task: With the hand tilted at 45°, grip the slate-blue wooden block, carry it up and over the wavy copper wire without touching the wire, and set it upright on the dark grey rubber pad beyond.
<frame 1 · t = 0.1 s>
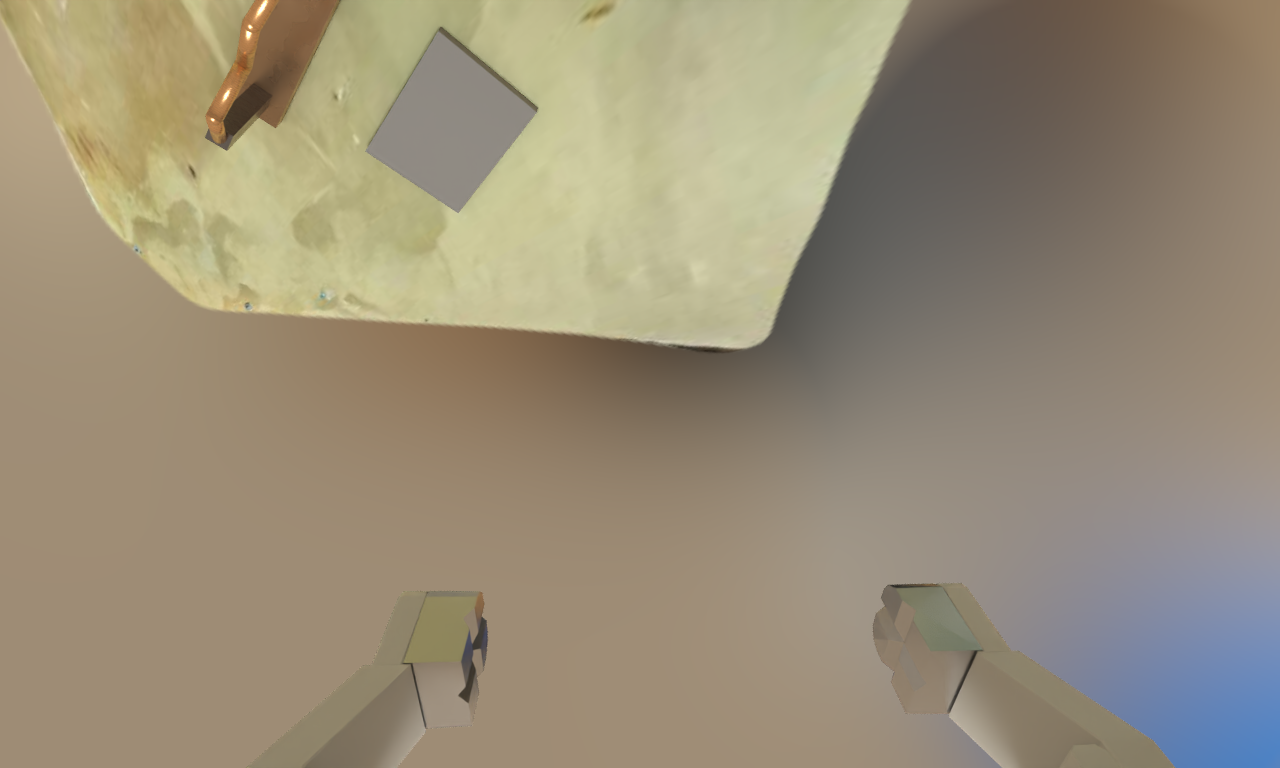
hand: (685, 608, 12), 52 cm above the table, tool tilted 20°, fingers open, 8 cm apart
pad: (451, 127, 56), on the table
wire frame: (300, 15, 49), on the table
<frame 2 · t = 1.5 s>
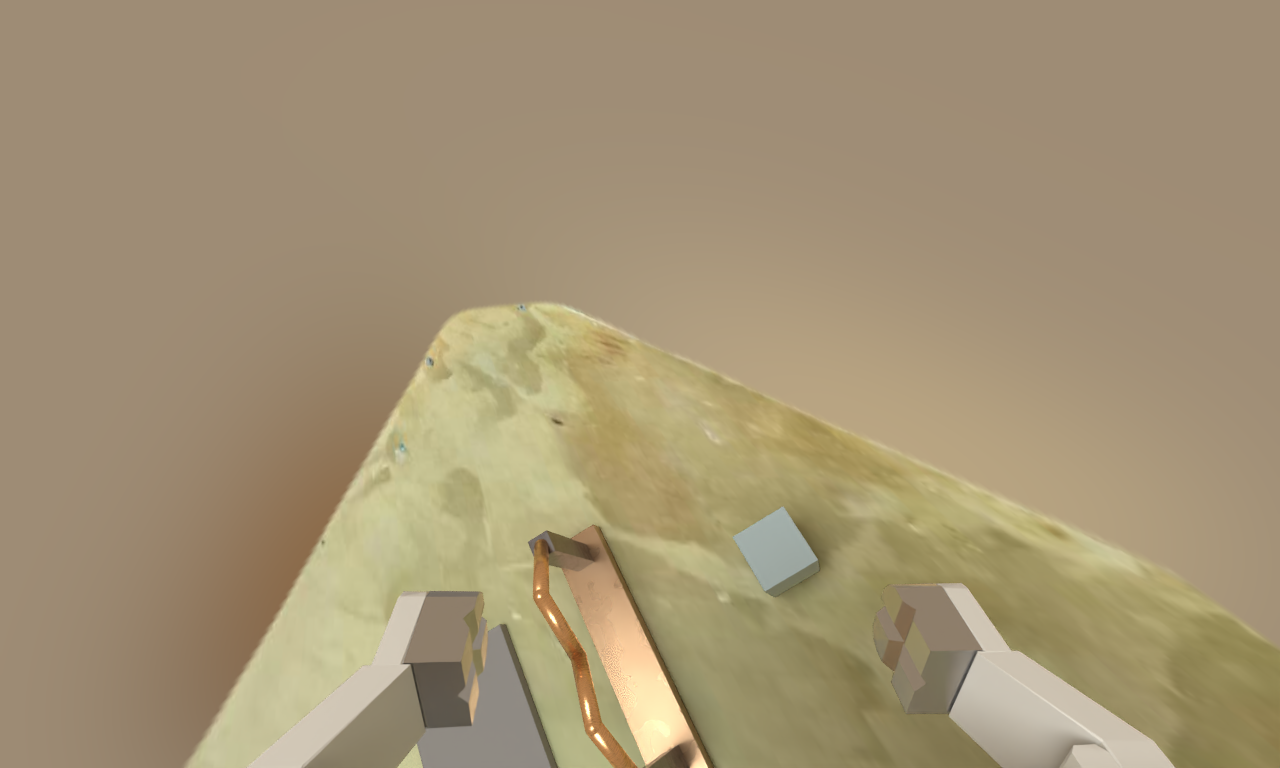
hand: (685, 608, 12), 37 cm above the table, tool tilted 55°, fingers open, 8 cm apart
pad: (483, 738, 48), on the table
block: (782, 560, 46), on the table
wire frame: (630, 651, 47), on the table
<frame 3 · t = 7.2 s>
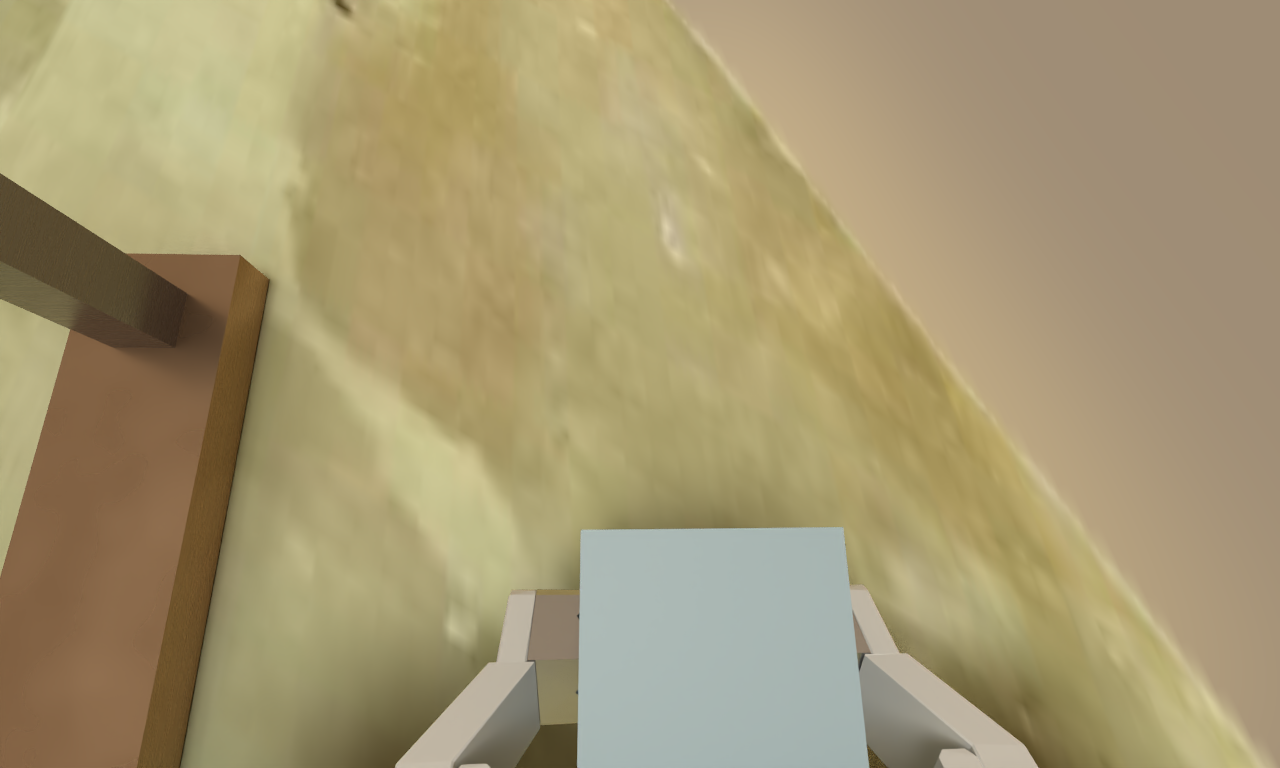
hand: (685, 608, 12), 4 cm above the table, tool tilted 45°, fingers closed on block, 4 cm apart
block: (666, 620, 16), on the table, touching gripper
wire frame: (123, 631, 15), on the table
when the fingers open (7 cm above the table, at t = 14.4 s): block drops 2 cm, resting on pad.
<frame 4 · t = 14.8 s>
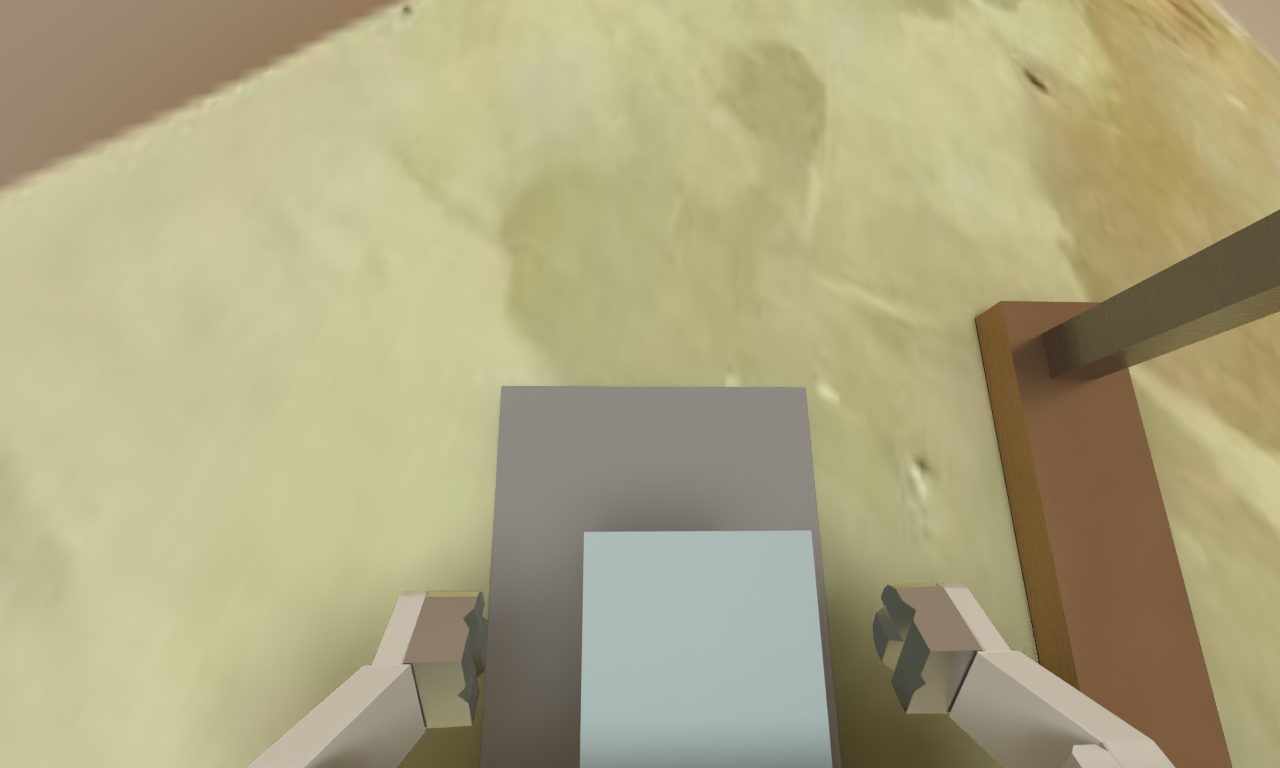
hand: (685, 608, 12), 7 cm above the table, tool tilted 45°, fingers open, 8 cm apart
pad: (657, 612, 18), on the table
block: (660, 614, 17), point 1 cm above the table, touching pad
wire frame: (1088, 605, 19), on the table
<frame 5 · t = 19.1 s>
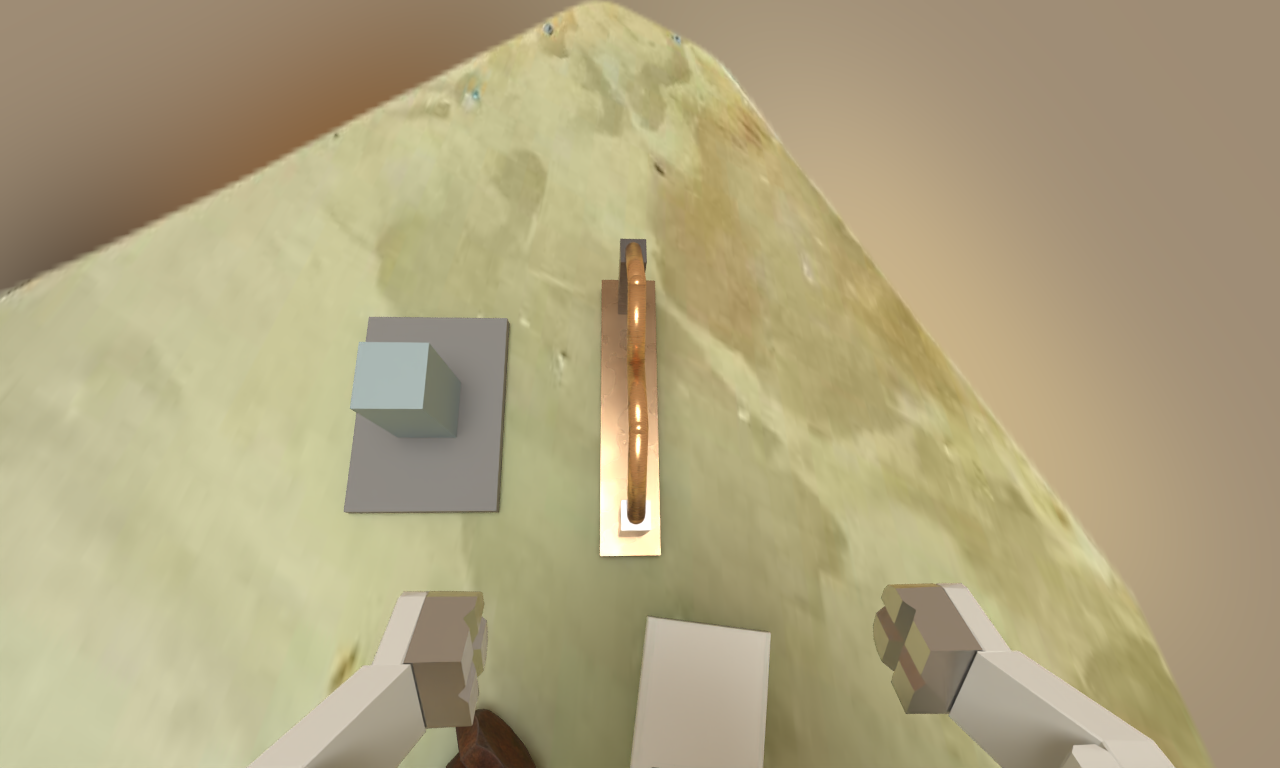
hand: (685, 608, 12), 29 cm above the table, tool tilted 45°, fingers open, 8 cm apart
pad: (433, 413, 43), on the table
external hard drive: (696, 724, 38), on the table
block: (429, 409, 42), point 1 cm above the table, touching pad
wire frame: (628, 413, 43), on the table
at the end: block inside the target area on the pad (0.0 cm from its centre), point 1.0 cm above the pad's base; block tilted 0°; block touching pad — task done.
